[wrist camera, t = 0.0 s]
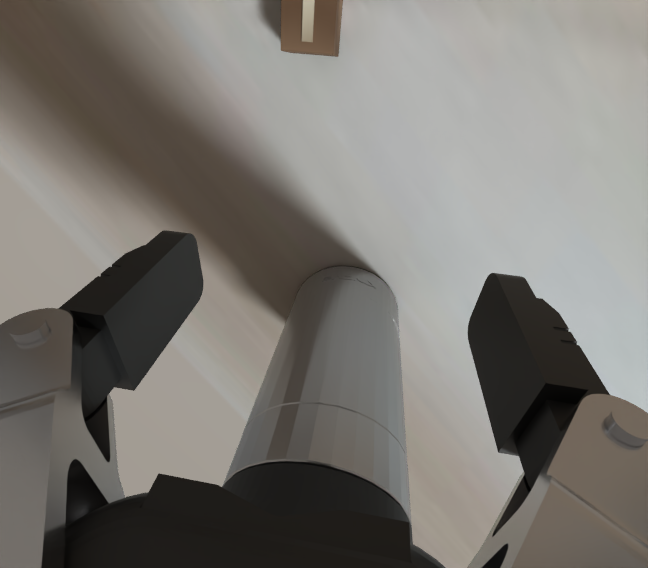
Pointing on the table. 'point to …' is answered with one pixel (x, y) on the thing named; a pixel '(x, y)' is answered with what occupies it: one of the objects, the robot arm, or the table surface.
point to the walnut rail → (311, 26)
